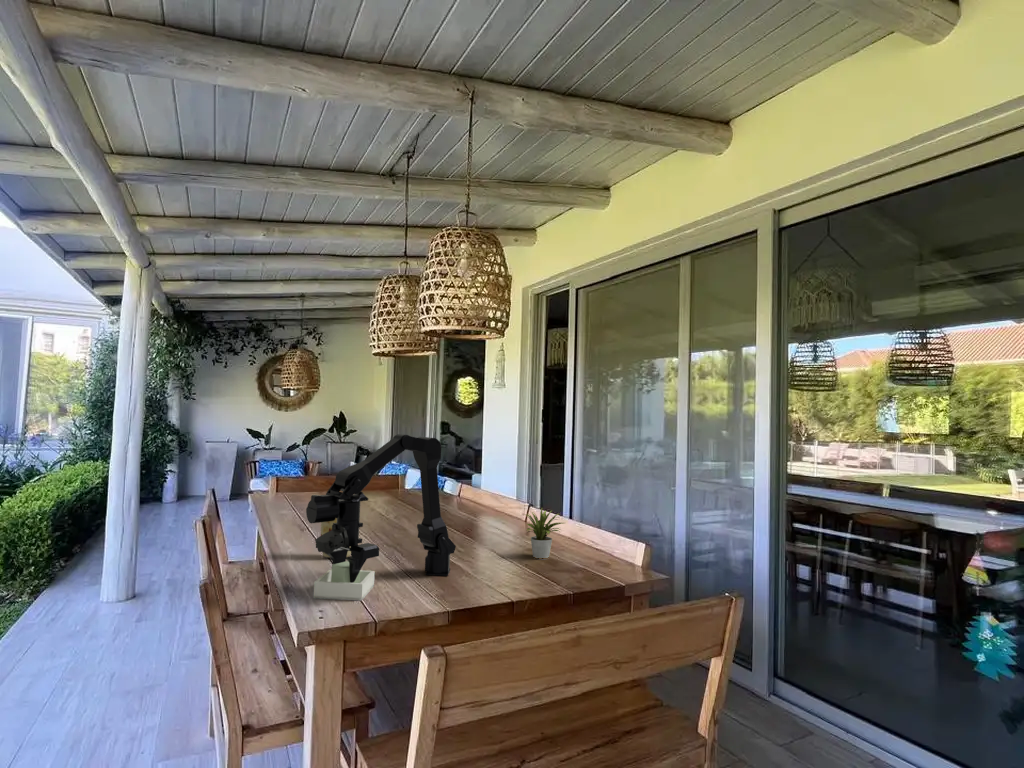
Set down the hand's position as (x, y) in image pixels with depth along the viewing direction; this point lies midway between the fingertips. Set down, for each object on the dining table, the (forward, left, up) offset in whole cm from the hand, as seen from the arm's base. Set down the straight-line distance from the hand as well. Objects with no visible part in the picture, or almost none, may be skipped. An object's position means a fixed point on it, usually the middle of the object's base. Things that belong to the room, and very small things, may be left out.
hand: (345, 580), depth 154 cm
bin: (0, 0, -3) cm, 3 cm away
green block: (0, 0, -1) cm, 1 cm away
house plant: (-51, -43, -3) cm, 67 cm away
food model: (+13, -33, -3) cm, 36 cm away
